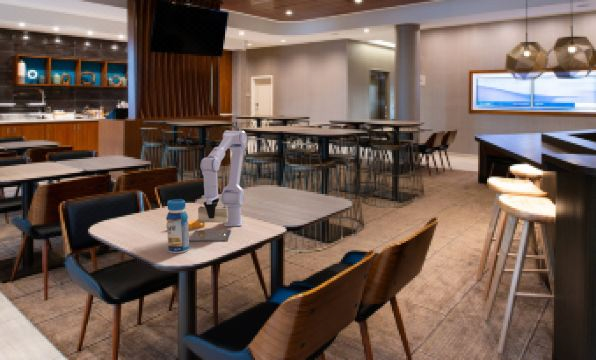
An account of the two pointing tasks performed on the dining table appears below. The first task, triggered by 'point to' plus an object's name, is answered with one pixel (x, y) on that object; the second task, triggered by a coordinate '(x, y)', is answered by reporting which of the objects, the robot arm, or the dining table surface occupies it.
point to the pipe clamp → (195, 224)
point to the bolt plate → (210, 235)
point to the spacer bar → (220, 216)
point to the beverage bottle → (177, 226)
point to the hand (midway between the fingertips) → (212, 216)
